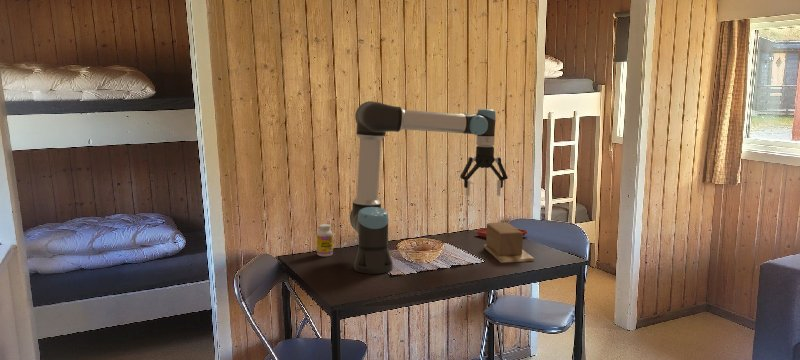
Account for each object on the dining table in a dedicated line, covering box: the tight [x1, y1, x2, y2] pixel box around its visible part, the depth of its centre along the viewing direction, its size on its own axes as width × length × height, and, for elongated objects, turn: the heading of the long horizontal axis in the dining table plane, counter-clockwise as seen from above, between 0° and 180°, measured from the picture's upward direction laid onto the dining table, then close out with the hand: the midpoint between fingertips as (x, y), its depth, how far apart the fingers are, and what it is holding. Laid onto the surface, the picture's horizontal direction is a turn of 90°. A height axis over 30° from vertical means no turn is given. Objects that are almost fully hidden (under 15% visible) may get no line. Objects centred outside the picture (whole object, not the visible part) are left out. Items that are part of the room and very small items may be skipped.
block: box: [485, 221, 524, 256], centre depth 267 cm, size 10×10×20 cm
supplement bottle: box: [316, 223, 334, 257], centre depth 264 cm, size 7×7×13 cm
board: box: [483, 244, 535, 263], centre depth 266 cm, size 14×24×1 cm, turn 9°
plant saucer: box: [475, 227, 529, 239], centre depth 296 cm, size 18×18×3 cm
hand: (483, 195), depth 267 cm, fingers open, 13 cm apart
